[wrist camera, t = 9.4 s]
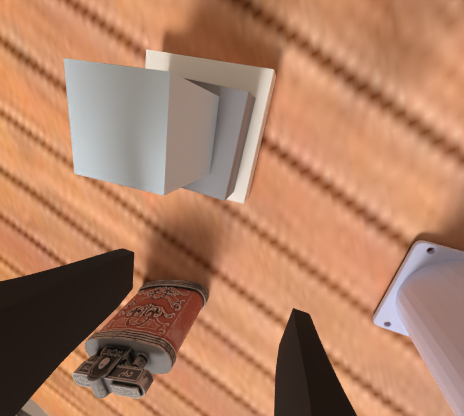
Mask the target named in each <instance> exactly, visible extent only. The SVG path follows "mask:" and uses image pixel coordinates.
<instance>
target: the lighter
mask: <svg viewBox="0 0 464 416" xmlns="http://www.w3.org/2000/svg"><path fill="white" fill-rule="evenodd" d="M207 301H208V292H207V290H206V289H205V287H204V286H203V285H201V284H199V283H195V282H190V281H184V280H159V281H153V282H149V283H145V284H144V285H143V286H142V287H141V288H140V289H139V290H138V293H137V294H136V295H135V296H134V297H133V298H132V299H131V300H130V301H129V302H128V303H127V304H126V305H125V306H124V307H123V308H122V309H121V310H120V311H119V312H118V313H117V314H116V315H115V316H114V317H113V318H112V319H111V320H110V321H109V322H108V323H107V324H106V325H105V326H104V327H103V328H102V329H101V330H100V331H99V332H96V333H94V334H93V335H92V336H91V337H90V338H89V339H88V340H87V341H86V343H85V349H86V352H87V353H88V355H89V356H90V358H89V359H88V360H87V361H84V362H83V363H82V364H81V365H80V366H79V367H78V368H77V369H76V370H75V372H74V373H73V374H72V377H73V379H74V381H75V382H76V383H77V384H78V385H80V386H85V387H90V388H91V389H92V391H93V393H94V395H95V397H96V398H104V397H106V396H107V395H108V394H110V393H111V392H113V393H114V394H116V395H121V396H126V397H132V398H137V399H139V398H140V397H143V396H145V394H146V392H147V391H148V389H149V387H150V385H151V384H152V382H153V380H154V379H153V375H152V374H165V373H168V372H169V371H170V370H171V368H172V366H173V365H174V363H175V361H176V357H177V356H176V354H177V352H178V350H179V348H180V347H181V345H182V343H183V341H184V339H185V337H186V336H187V334H188V332H189V330H190V328H191V326H192V325H193V323H194V321H195V319H196V317H197V315H198V313H199V312H200V310H201V309H203V307H204V306H205V304H206V303H207Z"/></svg>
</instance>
